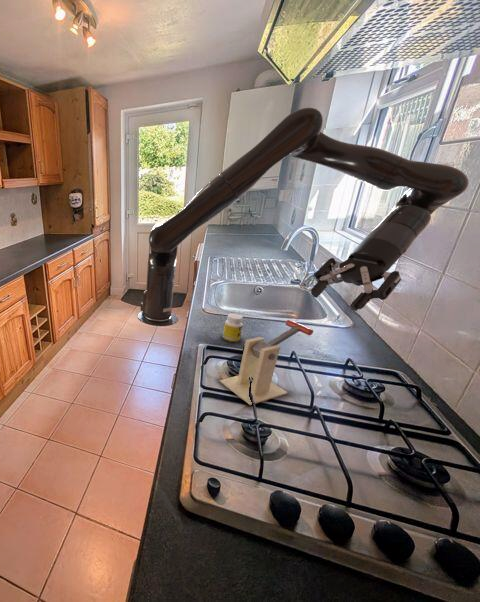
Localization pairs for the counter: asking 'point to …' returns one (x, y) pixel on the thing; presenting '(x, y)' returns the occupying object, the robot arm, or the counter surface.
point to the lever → (282, 337)
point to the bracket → (256, 374)
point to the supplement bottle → (233, 328)
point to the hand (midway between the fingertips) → (332, 301)
